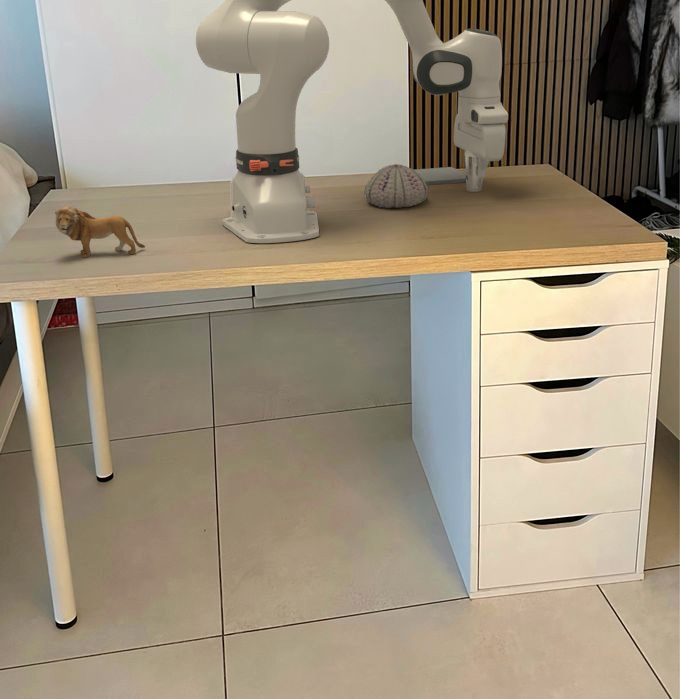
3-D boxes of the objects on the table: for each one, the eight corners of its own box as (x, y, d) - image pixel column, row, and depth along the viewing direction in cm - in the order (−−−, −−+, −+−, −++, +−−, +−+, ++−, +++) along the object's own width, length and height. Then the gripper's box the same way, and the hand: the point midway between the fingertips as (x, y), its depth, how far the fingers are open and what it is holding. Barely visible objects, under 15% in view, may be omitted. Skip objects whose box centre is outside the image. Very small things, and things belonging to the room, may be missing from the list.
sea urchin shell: (438, 207, 189) (439, 168, 185) (377, 214, 184) (377, 174, 181) (412, 193, 200) (412, 156, 197) (354, 199, 196) (354, 162, 193)
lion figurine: (60, 262, 158) (53, 211, 154) (60, 253, 163) (53, 204, 159) (146, 253, 162) (141, 204, 158) (144, 245, 166) (138, 197, 163)
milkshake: (489, 192, 199) (491, 146, 195) (464, 193, 199) (466, 146, 195) (486, 187, 203) (488, 142, 199) (462, 188, 203) (463, 143, 199)
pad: (471, 181, 209) (471, 178, 209) (417, 185, 206) (418, 182, 206) (451, 170, 221) (451, 166, 220) (400, 173, 218) (400, 170, 218)
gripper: (447, 103, 203) (445, 165, 208) (483, 117, 185) (480, 185, 190) (474, 102, 204) (471, 163, 210) (511, 115, 186) (508, 182, 191)
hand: (476, 174), depth 200 cm, fingers closed on milkshake, 4 cm apart
